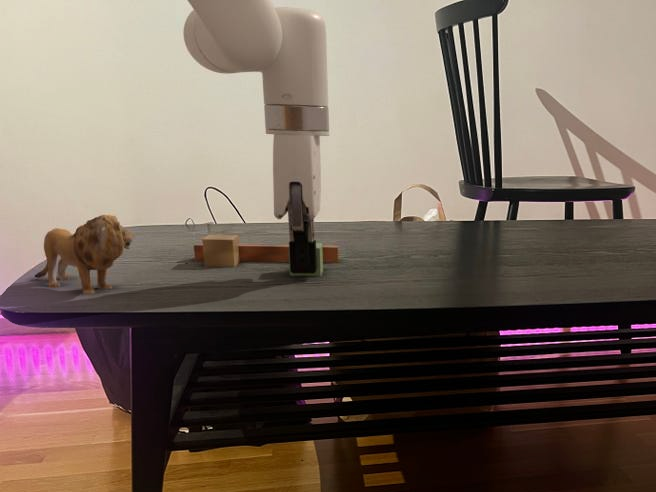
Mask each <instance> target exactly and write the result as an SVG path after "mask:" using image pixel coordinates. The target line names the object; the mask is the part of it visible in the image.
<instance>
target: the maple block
mask: <svg viewBox="0 0 656 492" xmlns="http://www.w3.org/2000/svg"><path fill="white" fill-rule="evenodd" d="M201 241H202V243H201V244H203V254H204V261H203V264H204V267H215V268H217V267H219V268H220V267H221V268H222V267H225V268H228V267H229V268H230V267H231V268H235V267H236V266H237V265H238V264H239V263H240V262H241V261H240V258H239V244H240V243H239V235H237V234H233V235H232V234H208V235H207V236H205V237H204V238H202V240H201Z"/></svg>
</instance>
